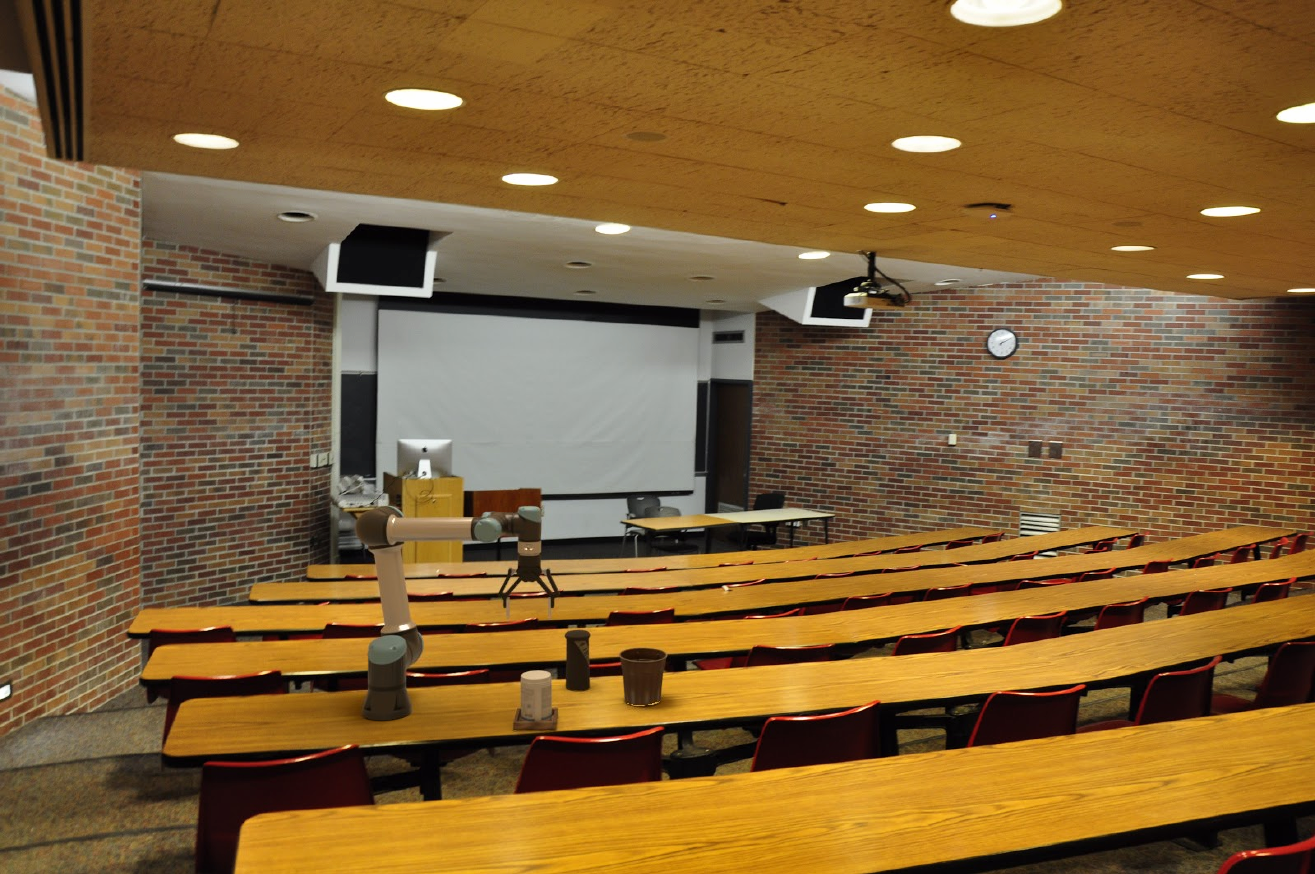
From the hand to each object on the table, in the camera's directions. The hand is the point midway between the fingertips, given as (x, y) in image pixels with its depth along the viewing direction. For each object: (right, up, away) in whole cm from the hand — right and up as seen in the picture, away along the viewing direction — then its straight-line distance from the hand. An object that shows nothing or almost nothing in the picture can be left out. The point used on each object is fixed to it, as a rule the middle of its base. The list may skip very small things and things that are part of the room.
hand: (528, 618), depth 305 cm
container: (+14, -28, +19) cm, 37 cm away
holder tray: (+5, -30, -16) cm, 34 cm away
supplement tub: (+5, -29, -16) cm, 34 cm away
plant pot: (+37, -29, +6) cm, 48 cm away
